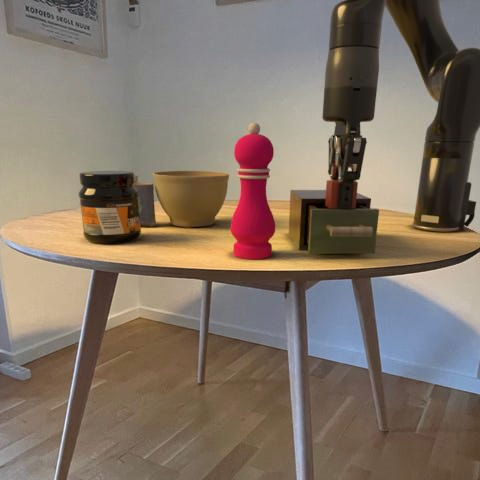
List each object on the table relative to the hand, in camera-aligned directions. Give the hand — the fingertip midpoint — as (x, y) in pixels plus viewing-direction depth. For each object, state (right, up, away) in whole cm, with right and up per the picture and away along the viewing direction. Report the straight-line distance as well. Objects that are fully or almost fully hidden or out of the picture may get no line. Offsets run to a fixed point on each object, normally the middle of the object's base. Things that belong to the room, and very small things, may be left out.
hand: (340, 205), depth 74 cm
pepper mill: (-14, -8, +3) cm, 16 cm away
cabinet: (0, -4, +13) cm, 13 cm away
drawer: (0, -6, +3) cm, 7 cm away
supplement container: (-40, -3, +14) cm, 42 cm away
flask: (-38, +2, +28) cm, 48 cm away
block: (0, 0, 0) cm, 0 cm away
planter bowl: (-26, +3, +29) cm, 40 cm away
